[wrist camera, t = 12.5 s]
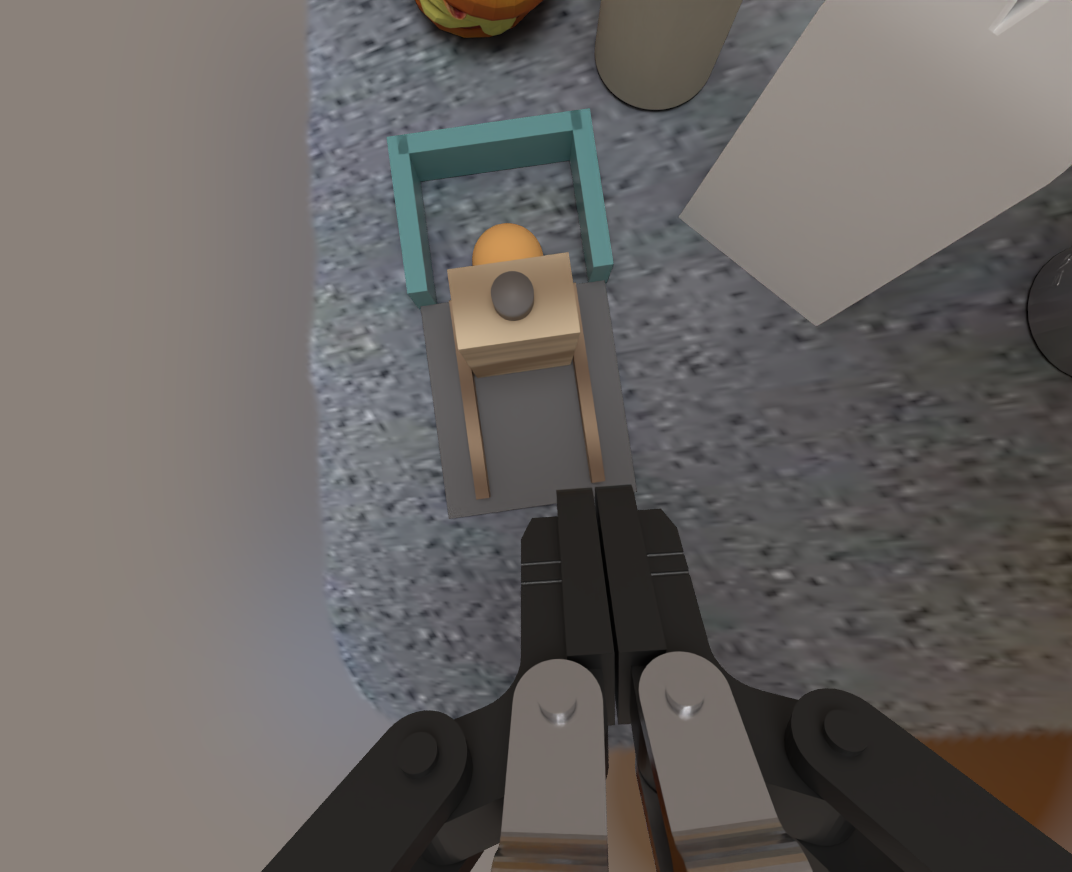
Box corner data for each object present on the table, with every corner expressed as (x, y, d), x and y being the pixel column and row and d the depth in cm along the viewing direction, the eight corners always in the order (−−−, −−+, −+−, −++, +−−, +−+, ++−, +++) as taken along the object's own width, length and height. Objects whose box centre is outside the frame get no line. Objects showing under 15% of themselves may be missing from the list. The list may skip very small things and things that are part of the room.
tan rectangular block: (570, 364, 38) (582, 325, 27) (477, 378, 38) (454, 343, 27) (561, 303, 38) (569, 241, 28) (468, 316, 38) (442, 259, 27)
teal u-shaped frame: (606, 282, 39) (613, 264, 35) (419, 309, 39) (407, 293, 35) (585, 140, 39) (589, 108, 36) (400, 166, 39) (386, 137, 36)
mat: (635, 491, 38) (636, 491, 37) (450, 518, 38) (449, 518, 37) (603, 282, 39) (604, 280, 38) (422, 308, 39) (420, 306, 38)
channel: (603, 480, 37) (605, 481, 36) (478, 498, 37) (476, 499, 36) (574, 288, 38) (575, 282, 37) (451, 305, 38) (448, 300, 37)
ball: (562, 270, 35) (552, 230, 38) (499, 236, 33) (494, 196, 36) (521, 322, 38) (514, 281, 40) (460, 293, 35) (458, 251, 38)
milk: (790, 81, 39) (1277, -666, 13) (928, 187, 39) (1706, -374, 13) (678, 217, 39) (959, -287, 13) (816, 326, 38) (1392, 32, 13)
